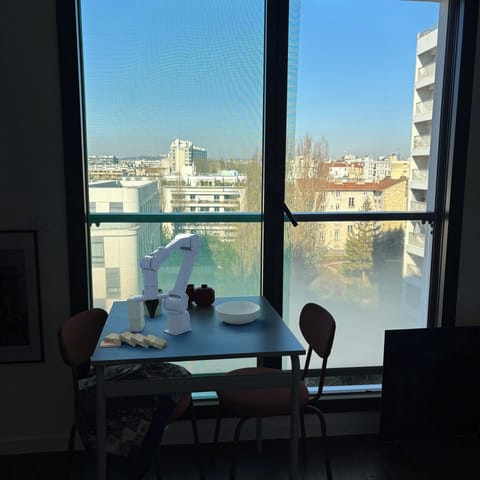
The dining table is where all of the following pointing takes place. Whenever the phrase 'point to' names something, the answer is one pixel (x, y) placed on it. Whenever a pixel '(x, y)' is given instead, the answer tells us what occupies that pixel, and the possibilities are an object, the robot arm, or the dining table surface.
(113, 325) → the dining table surface
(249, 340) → the dining table surface
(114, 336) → the domino
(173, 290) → the robot arm
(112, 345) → the end domino
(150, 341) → the domino
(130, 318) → the skincare box
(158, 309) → the grey green plant pot
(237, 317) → the serving bowl
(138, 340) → the domino
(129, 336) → the domino
